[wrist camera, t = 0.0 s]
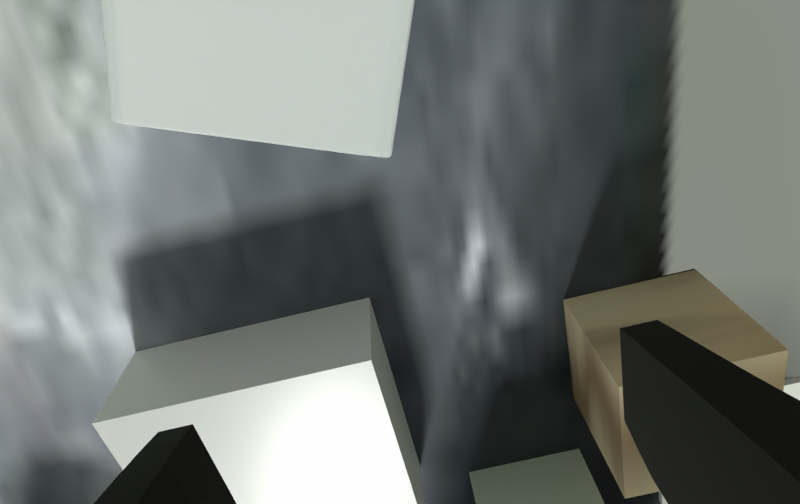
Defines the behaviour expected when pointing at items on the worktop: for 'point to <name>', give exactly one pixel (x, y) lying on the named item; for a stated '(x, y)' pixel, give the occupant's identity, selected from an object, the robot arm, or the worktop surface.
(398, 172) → the worktop surface
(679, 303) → the maple cube
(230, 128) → the external hard drive
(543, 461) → the sage cube
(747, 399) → the robot arm
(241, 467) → the grey base block
